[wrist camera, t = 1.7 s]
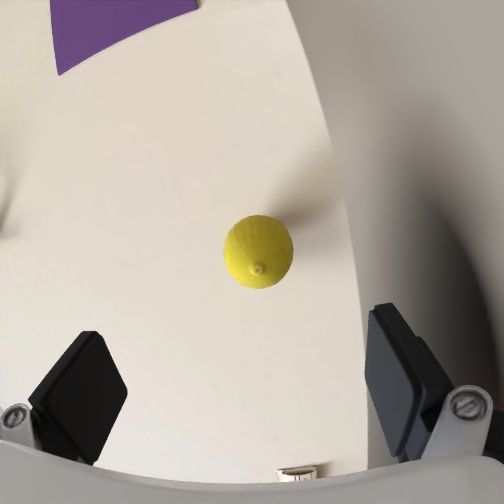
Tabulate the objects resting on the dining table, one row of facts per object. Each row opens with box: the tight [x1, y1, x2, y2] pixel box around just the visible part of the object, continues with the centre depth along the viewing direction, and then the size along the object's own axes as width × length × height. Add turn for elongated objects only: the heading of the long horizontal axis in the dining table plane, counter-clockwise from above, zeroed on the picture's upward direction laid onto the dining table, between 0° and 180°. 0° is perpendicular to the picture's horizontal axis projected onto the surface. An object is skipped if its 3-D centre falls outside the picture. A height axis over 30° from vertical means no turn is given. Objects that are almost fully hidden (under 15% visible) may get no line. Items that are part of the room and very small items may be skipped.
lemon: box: [224, 215, 293, 289], centre depth 25 cm, size 6×6×8 cm
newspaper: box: [275, 466, 317, 482], centre depth 45 cm, size 24×7×2 cm, turn 10°
